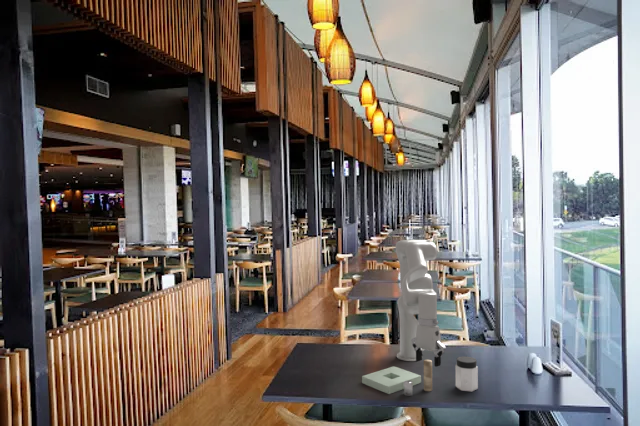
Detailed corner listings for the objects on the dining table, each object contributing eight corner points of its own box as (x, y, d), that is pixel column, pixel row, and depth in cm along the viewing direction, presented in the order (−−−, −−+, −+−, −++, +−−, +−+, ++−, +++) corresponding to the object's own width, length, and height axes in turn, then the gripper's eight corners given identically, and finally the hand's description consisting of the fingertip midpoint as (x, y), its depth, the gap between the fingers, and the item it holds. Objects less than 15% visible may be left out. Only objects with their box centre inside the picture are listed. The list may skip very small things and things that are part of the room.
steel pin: (407, 391, 199) (407, 379, 198) (414, 394, 196) (414, 382, 196) (402, 394, 196) (402, 381, 196) (408, 396, 194) (408, 384, 194)
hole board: (393, 372, 221) (393, 366, 221) (421, 382, 209) (421, 375, 209) (362, 383, 209) (362, 376, 209) (389, 394, 196) (388, 386, 196)
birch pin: (427, 387, 203) (427, 359, 203) (434, 389, 200) (433, 361, 200) (422, 389, 201) (421, 360, 201) (428, 391, 198) (428, 362, 198)
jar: (455, 390, 200) (455, 361, 200) (455, 383, 207) (455, 355, 207) (478, 392, 197) (477, 363, 197) (477, 385, 205) (477, 357, 205)
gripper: (450, 324, 196) (451, 366, 195) (417, 317, 209) (417, 356, 209) (438, 326, 191) (439, 370, 191) (405, 319, 205) (406, 360, 204)
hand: (428, 363), depth 200 cm, fingers open, 9 cm apart
